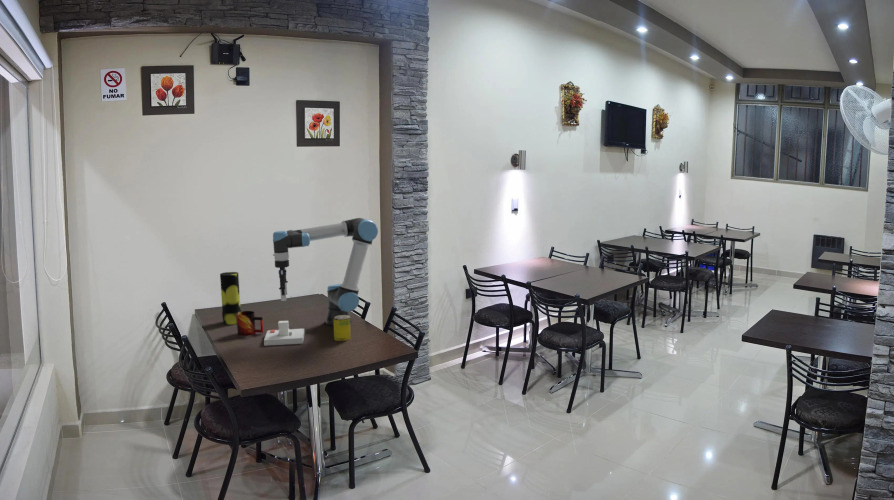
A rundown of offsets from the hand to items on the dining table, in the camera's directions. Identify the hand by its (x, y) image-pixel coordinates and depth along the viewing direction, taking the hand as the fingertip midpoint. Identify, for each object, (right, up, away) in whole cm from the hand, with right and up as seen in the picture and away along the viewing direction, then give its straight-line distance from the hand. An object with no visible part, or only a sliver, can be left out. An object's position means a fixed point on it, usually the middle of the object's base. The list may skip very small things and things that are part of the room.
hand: (284, 297), depth 339 cm
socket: (+1, -23, -1) cm, 23 cm away
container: (-40, -18, +33) cm, 55 cm away
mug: (-22, -21, +11) cm, 33 cm away
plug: (0, -23, -1) cm, 23 cm away
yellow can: (+32, -23, +1) cm, 39 cm away
